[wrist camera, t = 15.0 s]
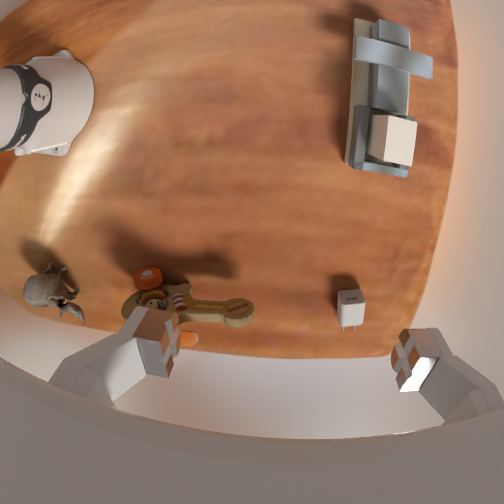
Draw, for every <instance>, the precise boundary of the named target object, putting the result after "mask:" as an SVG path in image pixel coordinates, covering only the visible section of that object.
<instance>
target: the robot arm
mask: <svg viewBox="0 0 504 504" xmlns="http://www.w3.org/2000/svg"><path fill="white" fill-rule="evenodd" d="M93 99H94V86H93V80H92V77H91V74H90V72H89V71H88V69H87V68H86V67H85V66H84V65H83V64H82V63H80V62H78V61H76V60H75V59H74V58H73V56H72V54H71V52H70V51H69V50H61V51H60V52H58V53H56V54H55V55H53V56H52V57H34V58H32V60H30V61H29V62H27V63H26V64H25V65H21V64H14V65H10V66H5V67H3V68H2V69H0V151H7V150H11V149H13V148H15V155H16V156H18V155H24V154H31V153H32V152H36V153H43V154H50V155H56V156H64V155H66V154H67V152H68V150H69V148H70V146H71V143H72V141H73V139H74V138H75V137H76V136H77V135H78V133H79V132H80V131H81V130H82V129H83V127H84V126H85V124H86V122H87V120H88V118H89V115H90V113H91V109H92V105H93ZM57 148H58V150H57ZM178 323H179V318H178V314H177V313H176V312H170V311H164V310H159V309H153V308H146V307H141V306H138V307H136V308H135V309H134V310H133V312H132V313H131V315H130V316H129V318H128V320H127V321H126V323H125V324H124V326H123V327H122V329H121V330H120V332H119V333H118V334H116V333H114V334H112V335H110V336H108V337H107V338H104V339H102V340H100V341H99V342H97V343H95V344H93V345H91V346H89V347H87V348H85V349H83V350H81V351H79V352H77V353H75V354H73V355H71V356H69V357H67V358H65V359H64V360H63V361H62V363H61V364H60V365H59V367H58V368H57V370H56V371H55V373H54V374H53V376H52V377H51V379H50V380H49V382H46V381H44V380H42V379H39V378H37V377H35V376H33V375H31V374H29V373H28V372H25V371H24V370H22V369H20V368H18V367H16V366H14V365H13V364H11V363H9V362H7V361H5V360H4V359H2V358H0V504H504V402H503V400H502V397H501V395H500V393H499V391H498V389H497V387H496V385H495V384H494V383H492V382H491V381H490V380H488V379H487V378H486V377H484V376H483V375H482V374H480V373H479V372H478V371H476V370H475V369H474V368H472V367H471V366H469V365H468V364H467V363H465V362H464V361H463V360H461V359H460V358H459V357H457V356H453V355H452V352H451V351H450V349H449V347H448V345H447V343H446V341H445V340H444V338H443V336H442V334H441V333H440V331H439V329H437V328H426V329H403V330H402V331H401V333H400V335H399V339H400V342H399V343H397V344H396V345H395V346H394V348H393V351H392V354H391V364H392V368H393V370H394V371H395V372H397V373H398V374H397V377H396V381H397V384H398V387H399V390H400V391H414V390H419V392H420V394H421V395H422V396H423V397H424V398H425V399H426V400H427V401H428V402H429V403H430V405H431V406H432V407H433V408H434V409H435V410H436V411H437V412H438V413H439V414H440V415H441V417H442V418H443V419H444V420H445V422H444V423H443V424H442V425H441V426H436V427H432V428H427V429H422V430H416V431H410V432H404V433H397V434H390V435H381V436H372V437H360V438H346V439H345V438H344V439H280V438H263V437H252V436H242V435H234V434H226V433H219V432H212V431H206V430H200V429H195V428H189V427H184V426H179V425H174V424H170V423H166V422H161V421H157V420H153V419H149V418H146V417H142V416H138V415H135V414H131V413H128V412H125V411H121V410H118V409H116V407H115V405H114V403H113V401H114V400H115V399H116V398H117V397H119V396H120V395H121V394H123V393H124V392H125V391H127V390H128V389H129V388H131V387H132V386H133V385H134V384H136V383H137V382H138V381H140V380H141V379H142V378H143V377H145V376H146V374H150V375H155V376H160V377H166V378H169V376H170V373H171V370H172V368H173V365H174V362H173V358H174V357H175V356H177V355H178V352H179V350H180V344H181V332H180V330H179V329H178V328H177V325H178Z"/></svg>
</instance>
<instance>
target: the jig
mask: <svg viewBox="0 0 504 504" xmlns="http://www.w3.org/2000/svg"><path fill="white" fill-rule="evenodd" d="M432 72H433V58H432V57H430V56H427V55H424V54H421V53H418V52H415V51H412V50H410V33H409V28H408V27H404V26H401V25H398V24H395V23H392V22H388V21H385V20H381V19H378V20H377V21H376V22H375V23H374V22H370V21H366V20H362V19H357V18H355V19H354V20H353V54H352V78H351V94H350V108H349V120H348V131H347V141H346V150H345V159H344V163H345V164H346V165H349V166H350V167H352V168H353V169H359V170H365V171H371V172H377V173H383V174H389V175H394V176H399V177H405V178H407V173H408V167H409V166H407V165H402V164H397V163H392V162H387V161H383V160H381V159H378V158H376V157H374V156H372V155H370V154H368V153H365V149H366V140H367V131H368V121H369V115H390V116H394V117H398V118H402V119H406V120H410V121H414V119H415V118H414V117H411V116H407V114H408V101H409V84H410V73H411V74H414V75H417V76H420V77H423V78H426V79H429V80H430V79H432Z"/></svg>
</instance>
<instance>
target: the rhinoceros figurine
mask: <svg viewBox="0 0 504 504" xmlns="http://www.w3.org/2000/svg"><path fill="white" fill-rule="evenodd" d="M53 270H54V266H53V265H52V264H51V263H50V264H49V266H48V268H47V269H46V270H44V271H42V272H41V273H40V274H37V275H34V276H31V277H29V278H28V280H27V281H26V283H25V285H24V289H23V298H24V300H25V301H26V302H28V303H29V304H30V305H32V306H35V307H46V306H48V305H50V306H52V307H53V308H59V309H60V318H61V317H62V314H63V312H70V313H72V314H73V315H74V316H75V318H78V317H79V318H81V319H82V321H83V323H84V326H85V318H84V315H83V311H82V309H81V308H80V307H79V306H78V305H76V304H74V303H72V302H69V301H71V300H73V299H76V297H75V296H76V295H77V294H78V293H79V289H76V291H75V292H70V290H69V289H68V288H67V287H66V285H65V284H64V283H63V282H62V281H61V275H62V273H63V272H64V271H67V267H66V266H63V267H62V268H61V269H60V271H59V273H58V274H57V276H56V277H53V276H51V275H49V274H50V273H51V272H52V271H53ZM65 300H67V301H68V302H67V303H66V304H63V302H64V301H65Z"/></svg>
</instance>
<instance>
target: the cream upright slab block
mask: <svg viewBox="0 0 504 504" xmlns="http://www.w3.org/2000/svg"><path fill="white" fill-rule="evenodd" d="M416 130H417V122H414V121H410V120H406V119H402V118H398V117H394V116H390V115H369V121H368V131H367V140H366V149H365V153H368V154H370V155H372V156H374V157H376V158H378V159H381V160H383V161H387V162H392V163H397V164H402V165H407V166H411V167H412V161H413V154H414V146H415V139H416Z"/></svg>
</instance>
